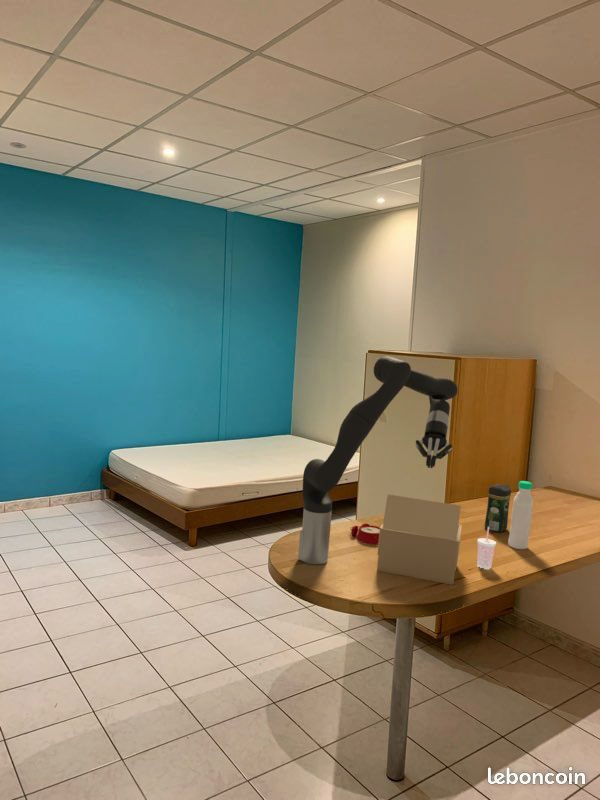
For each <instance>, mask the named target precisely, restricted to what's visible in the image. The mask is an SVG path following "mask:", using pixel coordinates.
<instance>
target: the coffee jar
mask: <svg viewBox="0 0 600 800" xmlns="http://www.w3.org/2000/svg"><path fill="white" fill-rule="evenodd" d="M511 493H512V489H511V487H510V486H509V485H507V484H504V483H498V484H495V485H491V486H489V487H488V492H487V507H486V514H485V519H484V520H485V521H484V529H486V530H487V529H488V527H489V532H494V533H495V532H497V533H502V532H504V531H506V530H507V529H508V521H509V510H510V509H509V508H510V500H511V495H512V494H511Z"/></svg>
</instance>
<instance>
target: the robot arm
mask: <svg viewBox="0 0 600 800" xmlns="http://www.w3.org/2000/svg"><path fill="white" fill-rule="evenodd" d="M373 376H374V377H375V379H376V380H377V381H379V382H380V383H382V384H381V386H380V387H379V388H378V390H376V391H375V392H374V393H373V394H371V395H370V396H368V397H367V398H364V399H362V400H361V401H359V402H358V403H356V404H355V405H354V406H353V407H352V408H351V409H350V411H348V413H347V414H346V416H345V418H344V419H343V420H342V423H341V425H340V427H339V430H338V435H337V439H336V443H335V447H334V448H333V450H332V451H331V453H330V454H329V456H328V457H327V458H326V460H323V459H320V458H313V459H311V460H310V461H308V462H307V464H306V465H305V468H304V470H303V476H302V492H301V493H302V494H301V495H302V500H303V514H302V528H301V531H299V542H298V555H297V560H298V561H302V562H303V563H304V564H305V563H306V564H309V565H323V564H326V563H327V562H328V559H329V547H330V538H331V526H332V525H331V524H332V511H333V501H332V499H331V497H330V495H329V492H331V491H332V490H334V489H335V488H336V487H337V485H338V483H339V481H340V480H341V478H342V477H343V474H345V472H346V470H347V467H348V466H349V463H350V462H351V460H352V459H353V457H354V456H355V454H356V453H357V451H358V449H360V447H361V445H362V443H363V442H364V441H365V439H366V438H367V437H368V436H369V433H370V432H371V431H372V429H373V428H374V426H375V425H376V423H377V421H378V420H379V419H380V417H381V416H382V414H383V413H384V412H385V410H386V409H387V408H388V406H389V405H390V404H391V402H392V401H393V400H394V399H395V397H396V396H397V395H398V394H399V393H400V391H402V389H403V388H404V387H405V388H408V389H411V390H413V391H415V392H417V393H418V394H419V393H420V394H422V395H424V396H428V399H429V412H428V417H427V419H426V423H425V425H426V426H425V430H424V435H423V437H421V438H422V439H420V440H418V439H417V440H415V447H416V449H417V450H418V452H419V453H420V454H421V456H422V457H423V458H426V461H425V462H426V463H425V466H426V467H427V469H433V468H435V466H436V461H437V460H438V459H439V460H441V459H443V458H444V457H446V456H447V455H449V453H450V452H452V450H453V446H452V443H451V444H449V443H448V440H447V435H448V434H447V433H448V429H449V418H450V417H449V416H450V412H451V411H450V410H451V405H450V404H449V401H447V400H452V399H453V398H455V397H456V396H457V395H458V391H459V389H458V385H457V384H456V383H455V381H453V380H452V379H449V378H444V377H434V376H432V375H429V374H426V373H424V372H420V371H417V370H414V369H412V368H411V365H410V364H409V362H406V361H404V360H402V359H399V358H396V357H393V356H385V355H384V356H382V357H380V358H378V359H377V360H376V362H375V363H374V366H373ZM423 445H424V446H423ZM426 449H427V450H426ZM432 452H433V453H432Z"/></svg>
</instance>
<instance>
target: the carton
mask: <svg viewBox="0 0 600 800" xmlns="http://www.w3.org/2000/svg"><path fill="white" fill-rule="evenodd" d="M462 529H463V525H462V524H458V532H457V541H453V540H447V539H441V538H435V537H430V536H424V535H418V534H412V533H406V532H400V531H394V530H388V529H383V523H382V524H381V526H380V532H379V543H378V544H377V554H376V555H377V556H378V557H377V565H376V566H377V567H376V571H378V572H383V573H388V574H393V575H399V576H403V577H408V578H415V579H419V578H420V579H419V580H424V579H425V581H430V580H431V581H432V582H435V583H441V584H447V585H452V586H453V585H454V582H455V575H456V570H457V568H458V561H459V555H460V546H461V545H460V544H461V539H462V538H461V537H462ZM431 581H430V582H431Z"/></svg>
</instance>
